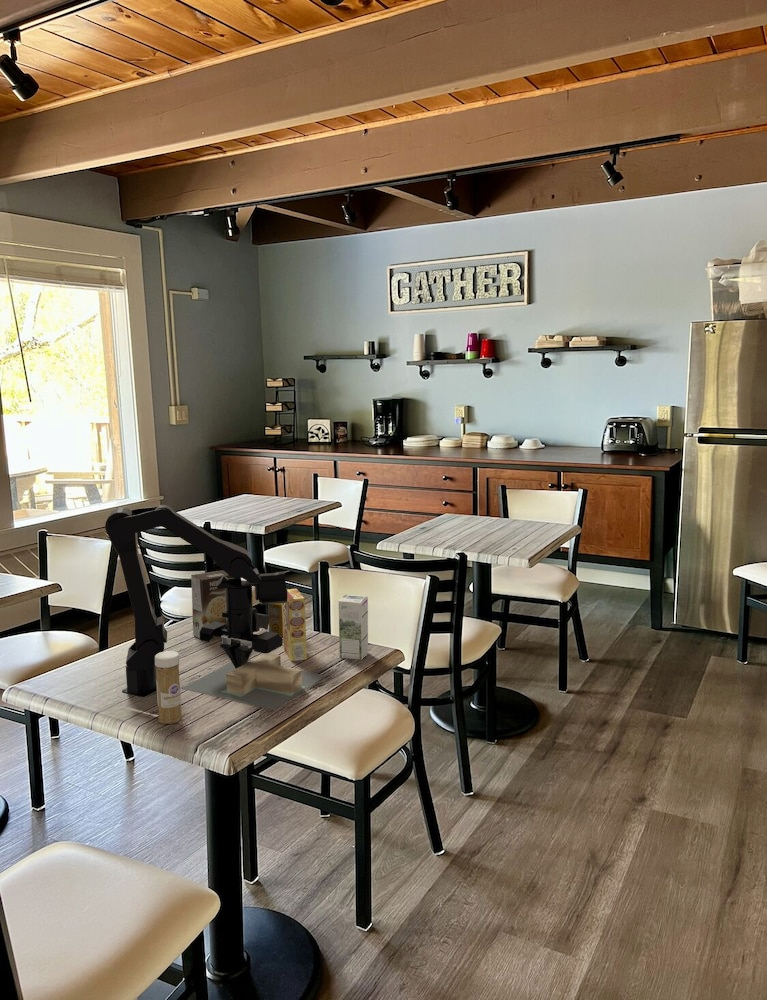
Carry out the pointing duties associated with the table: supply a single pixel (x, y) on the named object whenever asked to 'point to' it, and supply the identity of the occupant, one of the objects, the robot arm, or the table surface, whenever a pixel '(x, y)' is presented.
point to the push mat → (256, 697)
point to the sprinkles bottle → (168, 687)
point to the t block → (264, 676)
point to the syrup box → (353, 626)
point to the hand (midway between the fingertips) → (241, 674)
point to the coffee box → (207, 600)
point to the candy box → (294, 626)
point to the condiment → (275, 618)
